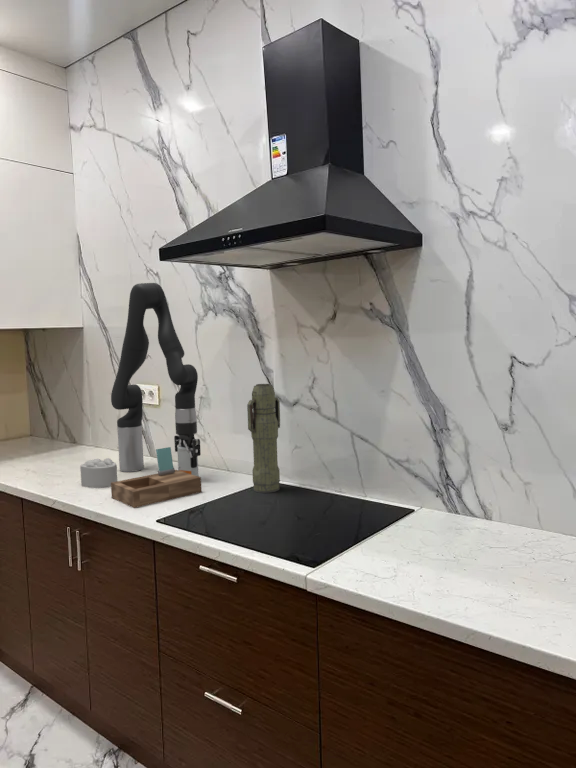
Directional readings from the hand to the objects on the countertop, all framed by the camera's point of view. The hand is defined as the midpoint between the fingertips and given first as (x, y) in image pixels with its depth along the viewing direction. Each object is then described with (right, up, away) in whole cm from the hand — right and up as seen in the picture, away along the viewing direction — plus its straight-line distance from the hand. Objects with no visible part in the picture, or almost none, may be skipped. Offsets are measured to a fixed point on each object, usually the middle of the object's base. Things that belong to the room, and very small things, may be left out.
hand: (188, 465), depth 209 cm
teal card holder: (-5, +3, -13) cm, 14 cm away
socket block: (-7, -7, -19) cm, 21 cm away
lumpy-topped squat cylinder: (-31, -6, -2) cm, 31 cm away
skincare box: (0, -5, +1) cm, 5 cm away
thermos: (+29, -6, -16) cm, 33 cm away
